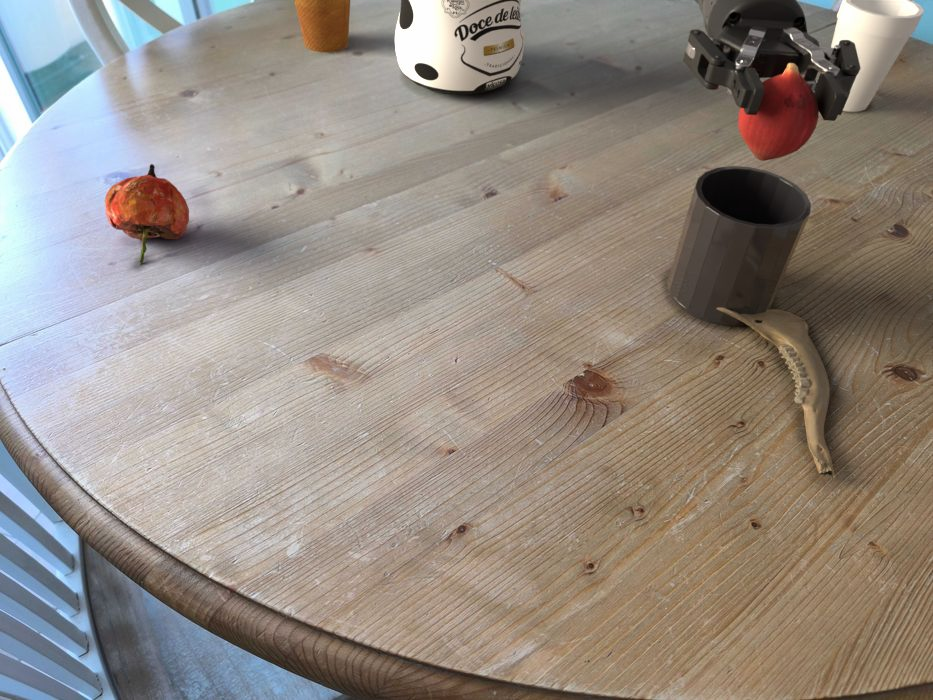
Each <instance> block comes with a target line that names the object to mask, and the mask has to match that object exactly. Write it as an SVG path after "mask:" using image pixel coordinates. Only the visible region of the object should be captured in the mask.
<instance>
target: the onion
mask: <svg viewBox="0 0 933 700" xmlns="http://www.w3.org/2000/svg"><path fill="white" fill-rule="evenodd" d="M761 82H762V84H763V86H764V95H763V98H762V101H761V104H760V107H759V110H758V113H757V114H756V115H746V114H745V111H744V109H743V108H740V107H739V113H738V121H737V123H738V126H737V127H738V130H739V134H740V136H741V138H742V140H743V141H744V143H745V144H746V146H747V147H748V148H749V150H750V151H751V153H752V154H753V156H754V157H755V158H756V159H757V160H758V161H761V162H762V161H763V162H764V161H770V160H775V159H779V158H782V157H786V156H788V155H790V154H793V153H795V152H797V151H799V150H800V149H801V148H802V147H803V146H804V145H805V144H806V143H808V141H809V140H810V139H811V137H812V135H813V134H814V132H815V130H816V128H817V125H818V121H819V118H820V117H819V116H820V115H819V114H820V112H819V108H818V103H817V99H816V97H815V94H814V93H813V91H812V89H811V87H810V85H809V84H808V83H807V82H806V81H805V80H804V78H803V77H802V75H801V74H800V73H799V71H798V67H797V66H796V64H794V63H789V64H788V65H787V67H786V69H785V71H784V72H783V74H780V75H777V76H774V77H772V78H766V79H765V80H764V81H761Z"/></svg>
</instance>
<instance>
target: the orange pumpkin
mask: <svg viewBox="0 0 933 700" xmlns="http://www.w3.org/2000/svg"><path fill="white" fill-rule="evenodd" d="M104 206H105V215H106V218H107V222H108V223H109V225H110V226H111V227H112V228H113V229H114V230H118V231H122V232H123V233H124V234H125V235H127V236H128V237H130V238H131V239H136V240H142V242H141V250H140V256H139V257H140V258H139V265H140V266H141V265H142V264H143V263H144V260H145V253H146V252H147V249H148V248H147V240H148V239H155V238H160V237H161V238H162V239H164V240H178V239H180V238H182V236H184V234H185V232H186V231H187V228H188V224H189V222H190V208H189V206H188V203H187V201H186V199H185V197H184V196H183V194H182V192H181V191H180V190H178V188H177V187H176V186H175V185H174V184H173V183H172V182H171V181H170V180H168V179H167V178H162V177H161V178H160V177H158V176H157V175H156V173H155V165H154V164H153V163H150V164H149V169H148V172H147V174H143V175H139V176H131V177H127V178H124V179H122V180H120V181H119V182H116V183H114V184H113V185H111V186H110V187H109V189H108V191H107V192H106V194H105V199H104Z"/></svg>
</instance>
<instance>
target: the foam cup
mask: <svg viewBox="0 0 933 700" xmlns="http://www.w3.org/2000/svg"><path fill="white" fill-rule="evenodd" d="M924 12H925V10H924V9H923V7H922V5H920V4H919V3H917V2H915V1H913V0H842V1H841V4H840V6H839V9H838V11H837V14H836V18H837V19H836V24H835V29H834V33H833V37H832V41H831V44H830V48H834V46H835V45H839V42H840V41H841V40H850V41H852V42H854V43H855V47H856V51H857V55H858V59H859V63H860V71H859V73H858V75H857V76H856V78H855V81H854V83H853V86H852V88H851V90H850V94H849V97H848V99H847V102H846V104H845V106H844V109H843V111H844V112H848V113H849V112H854V113H855V112H856V113H857V112H858V113H859V112H861V111H866V109H867V108H868V107H869V105H870V104H871V102H872V100H873V99H874V97H875V95H876V94H877V93H878V91H879V89H880V87H881V85H882V84H883V83H884V81H885V78H886V77H887V75H888V74H889V72H890V71H891V69H892V68H893V66H894V64H895V62H896V60H897V59H898V57H899V56H900V54H901V52H902V50H904V47H905V45H906V44H907V42H908V41H909V39H910V37H911V36H913V34H914V33H915V32H916V31H917V28H918V26H919V23H920V21H921V19H922V17H923V15H924ZM843 111H842V112H843Z"/></svg>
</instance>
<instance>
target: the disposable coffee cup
mask: <svg viewBox="0 0 933 700" xmlns="http://www.w3.org/2000/svg"><path fill="white" fill-rule="evenodd" d="M294 5H295V9H296V14H297V16H298V22H299V26H300V31H301V35H302V39H303V43H304V47H305V48H306V49H308V50H310V51H312V52H316V53H335V52H339V51H342V50H344V49H345V48H347V47H348V45H349V32H350V31H349V30H350V15H351V14H350V13H351V0H294Z"/></svg>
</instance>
